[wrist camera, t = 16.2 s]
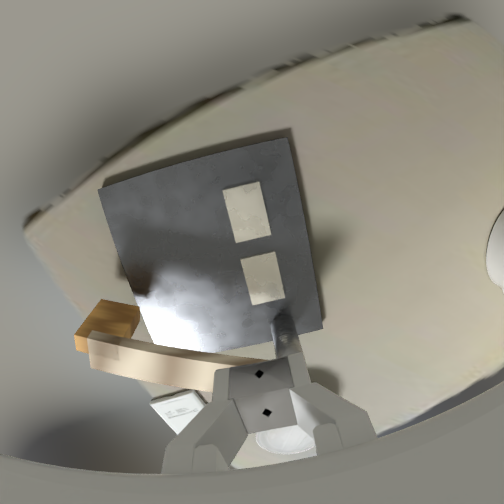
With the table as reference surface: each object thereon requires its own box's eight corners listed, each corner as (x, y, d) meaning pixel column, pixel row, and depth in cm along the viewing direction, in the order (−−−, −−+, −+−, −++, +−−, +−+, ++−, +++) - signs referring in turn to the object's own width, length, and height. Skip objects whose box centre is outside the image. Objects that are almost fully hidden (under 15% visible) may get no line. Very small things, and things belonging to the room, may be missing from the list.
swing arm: (270, 326, 37) (277, 370, 29) (263, 353, 38) (268, 398, 31) (101, 299, 35) (74, 334, 28) (103, 326, 36) (78, 364, 29)
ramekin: (324, 424, 49) (330, 447, 44) (261, 436, 49) (262, 459, 44) (320, 381, 45) (328, 405, 40) (247, 395, 45) (249, 420, 40)
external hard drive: (190, 441, 50) (150, 398, 46) (230, 431, 49) (193, 385, 45) (189, 447, 48) (148, 405, 44) (230, 438, 47) (192, 393, 43)
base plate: (285, 137, 33) (308, 134, 22) (321, 324, 41) (345, 383, 30) (101, 188, 34) (48, 209, 23) (164, 355, 42) (145, 417, 31)
